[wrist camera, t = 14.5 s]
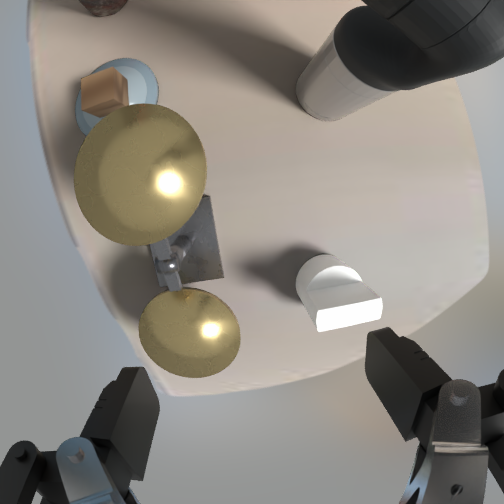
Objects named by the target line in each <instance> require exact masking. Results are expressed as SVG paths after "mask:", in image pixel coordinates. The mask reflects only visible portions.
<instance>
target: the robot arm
mask: <svg viewBox="0 0 504 504" xmlns="http://www.w3.org/2000/svg"><path fill="white" fill-rule="evenodd" d="M362 1H363V2H364V3H365V4H367V5H368V6H360V7H356V8H354V9H352V10H350V11H349V12H347V13H346V14H345V15H344V16H343V17H342V19H341V20H340V21H339V23H338V24H337V25H336V27H335V28H334V29H333V31H332V32H331V33H330V35H329V36H328V38H327V39H326V41H325V42H324V43H323V45H322V46H321V47H320V49H319V50H318V52H317V53H316V54H315V56H314V57H313V58H312V60H311V61H310V63H309V64H308V66H307V67H306V68H305V70H304V71H303V73H302V74H301V75H300V77H299V79H298V81H297V84H296V95H297V98H298V101H299V103H300V104H301V106H302V107H303V109H304V110H305V111H306V112H307V113H309V114H310V115H311V116H313V117H315V118H317V119H320V120H324V121H335V120H339V119H341V118H343V117H345V116H347V115H349V114H351V113H353V112H355V111H357V110H359V109H361V108H363V107H365V106H367V105H369V104H371V103H373V102H375V101H377V100H380V99H382V98H384V97H386V96H388V95H390V94H392V93H394V92H396V91H399V90H411V89H415V88H418V87H421V86H423V85H427V84H430V83H433V82H437V81H441V80H445V79H448V78H453V77H457V76H460V75H463V74H467V73H471V72H474V71H477V70H479V69H482V68H484V67H487V66H489V65H491V64H493V63H495V62H496V61H498V60H499V59H501V58H503V57H504V0H362ZM365 372H366V376H367V379H368V381H369V383H370V384H371V386H372V388H373V389H374V391H375V392H376V394H377V396H378V397H379V399H380V400H381V402H382V403H383V405H384V407H385V409H386V410H387V412H388V413H389V415H390V416H391V418H392V420H393V422H394V423H395V425H396V426H397V428H398V430H399V432H400V433H401V435H402V437H403V438H404V440H405V441H408V440H411V439H413V438H415V437H417V438H418V440H419V441H420V442H419V445H418V448H417V452H416V456H415V460H414V463H413V467H412V470H411V473H410V477H409V480H408V483H407V486H406V489H405V492H404V494H403V496H402V498H401V500H400V502H399V504H483V500H484V494H485V487H486V479H487V469H488V468H489V470H490V471H491V473H492V474H493V476H494V478H495V479H496V481H497V483H498V484H499V486H500V488H501V489H502V491H503V493H504V370H502V371H501V373H500V374H499V376H498V379H497V381H496V383H493V384H489V385H485V386H481V387H477V386H476V385H475V384H473V383H472V382H469V381H467V380H461V379H456V380H452V379H451V378H450V377H449V376H448V375H447V374H446V373H445V372H444V371H443V370H442V369H441V368H440V367H439V366H438V364H437V363H436V362H435V361H434V360H433V359H432V358H429V355H428V354H427V353H426V352H425V351H423V350H422V348H421V347H420V346H419V345H418V344H417V343H416V342H414V341H412V340H410V339H408V338H406V337H404V336H402V337H398V336H397V335H396V333H395V332H394V331H393V330H392V329H391V328H389V327H386V328H382V329H379V330H375V331H371V332H369V333H368V335H367V346H366V359H365ZM159 411H160V405H159V400H158V397H157V394H156V392H155V390H154V388H153V386H152V383H151V381H150V379H149V376H148V374H147V372H146V370H145V368H144V367H124V368H122V370H121V371H120V374H119V375H118V377H117V379H116V381H112V382H110V383H109V384H108V385H107V386H106V387H105V388H104V389H103V391H102V393H101V395H100V397H99V401H97V402H96V405H95V409H93V410H92V413H91V414H90V416H89V418H88V420H87V422H86V425H85V426H84V429H83V431H82V433H81V435H80V437H74V438H70V439H68V440H66V441H64V442H63V443H62V444H61V445H60V446H59V448H58V449H57V451H45V452H40V451H39V450H38V449H37V447H36V446H35V445H34V444H33V443H32V442H30V441H20V442H17V443H15V444H14V445H13V446H12V447H11V448H10V449H9V451H8V453H7V455H6V457H5V459H4V461H3V463H2V465H1V466H0V504H31V503H32V500H33V497H34V495H35V492H36V491H37V492H38V493H39V494H40V495H41V496H43V497H42V500H41V503H40V504H140V502H139V501H138V499H137V498H136V496H135V495H134V493H133V491H132V490H131V488H130V487H129V485H130V480H138V481H143V478H144V473H145V469H146V465H147V461H148V456H149V452H150V448H151V444H152V440H153V436H154V431H155V427H156V424H157V420H158V416H159Z"/></svg>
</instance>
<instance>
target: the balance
mask: <svg viewBox="0 0 504 504" xmlns="http://www.w3.org/2000/svg"><path fill="white" fill-rule="evenodd" d="M206 179H207V163H206V156H205V152H204V148H203V146H202V143H201V141H200V139H199V137H198V135H197V133H196V132H195V131H194V129H193V128H192V126H191V125H190V124H189V123H188V122H187V121H186V120H185V119H184V118H183V117H181V116H180V115H179V114H178V113H176V112H174V111H172V110H171V109H169V108H166V107H163V106H160V105H155V104H146V103H142V104H133V105H128V106H125V107H122V108H120V109H117V110H115V111H113V112H111V113H110V114H108V115H107V116H105V117H104V118H103V119H101V120H100V121H99V122H98V123H97V124H96V125H95V126H94V127H93V128H92V130H91V131H90V132H89V134H88V135H87V137H86V138H85V140H84V142H83V144H82V145H81V148H80V150H79V153H78V156H77V159H76V163H75V170H74V187H75V193H76V198H77V201H78V204H79V207H80V209H81V211H82V213H83V215H84V216H85V218H86V219H87V221H88V222H89V223H90V225H91V226H92V227H93V228H94V229H95V230H96V231H97V232H99V233H100V234H101V235H103V236H104V237H106V238H108V239H110V240H112V241H114V242H117V243H120V244H124V245H130V246H141V245H148V244H150V248H151V253H152V257H153V261H154V266H155V270H156V274H157V278H158V282H159V286H160V287H164V286H168V288H169V290H166V291H164V292H162V293H160V294H158V295H157V296H155V297H154V298H153V299H152V300H151V301H150V302H149V303H148V305H147V306H146V307H145V309H144V311H143V313H142V315H141V317H140V321H139V337H140V341H141V344H142V346H143V348H144V350H145V352H146V353H147V354H148V356H149V357H150V358H151V359H152V360H153V361H154V362H155V363H156V364H157V365H158V366H160V367H161V368H163V369H164V370H166V371H168V372H170V373H173V374H175V375H179V376H182V377H189V378H201V377H207V376H211V375H214V374H216V373H218V372H220V371H222V370H224V369H225V368H226V367H228V366H229V365H230V364H231V363H232V361H233V360H234V359H235V357H236V355H237V353H238V350H239V347H240V328H239V324H238V321H237V319H236V316H235V315H234V313H233V312H232V310H231V309H230V308H229V306H228V305H227V304H226V303H224V302H223V301H222V300H221V299H219V298H218V297H217V296H215V295H213V294H211V293H209V292H207V291H204V290H201V289H197V288H190V287H183V286H182V284H185V283H192V282H199V281H205V280H212V279H219V278H224V273H223V268H222V262H221V256H220V251H219V245H218V239H217V234H216V228H215V222H214V216H213V210H212V204H211V198H210V196H208V197H203V198H202V196H203V193H204V189H205V185H206Z"/></svg>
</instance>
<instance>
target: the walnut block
mask: <svg viewBox="0 0 504 504" xmlns="http://www.w3.org/2000/svg"><path fill="white" fill-rule="evenodd" d="M128 105H129V96H128V80H127V79H126V78H125V77H124V76H123V75H122V74H121V73H120V72H118V71H117V70H116V69H115V68H114V67H110V68H107V69H105V70H102V71H99V72H97V73H94V74H91V75H89V76H86V77H84V78H81V110H82V111H84V112H87V113H89V114H92V115H94V116H96V117H99V118H101V117H104V116H107V115H108V114H110V113H111V112H113V111H115V110H117V109H120V108H122V107H125V106H128Z"/></svg>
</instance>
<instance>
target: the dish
mask: <svg viewBox="0 0 504 504" xmlns="http://www.w3.org/2000/svg"><path fill="white" fill-rule="evenodd" d="M110 67H114V68H115V69H116V70H117V71H118V72H120V73H121V74H122V75H123V76H124V77H125V78H126V79H127V80H128V96H129V105H133V104H142V103H146V104H155V105H157V102H158V96H159V87H158V82H157V79H156V77H155V75H154V73H153V72H152V71H151V69H150V68H149V67H148V66H147V65H146V64H144V63H143V62H141V61H138V60H136V59H130V58H122V59H116V60H113V61H110V62H108V63H106V64H104V65H102V66H101V67H99V68H98V69H96V70H95V71H94V72H93V73H92V74H94V73H97V72H99V71H102V70H105V69H107V68H110ZM75 114H76V120H77V124H78V126H79V128H80V129H81V131H82V132H83V133H84V134H85V135H86V136H87V135H88V134H89V132H90V131H91V130H92V128H93V127H94V126H95V125H96V124H97V123H98V122H99V121H100V120H101V119H103V118H104V117H105V116H104V117H101V118H99V117H96V116H94V115H92V114H89V113H87V112H84V111H82V110H81V89H80V92H79V94H78V97H77V101H76V107H75Z"/></svg>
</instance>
